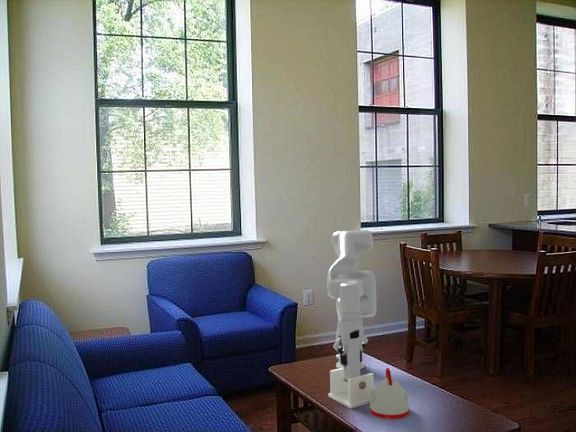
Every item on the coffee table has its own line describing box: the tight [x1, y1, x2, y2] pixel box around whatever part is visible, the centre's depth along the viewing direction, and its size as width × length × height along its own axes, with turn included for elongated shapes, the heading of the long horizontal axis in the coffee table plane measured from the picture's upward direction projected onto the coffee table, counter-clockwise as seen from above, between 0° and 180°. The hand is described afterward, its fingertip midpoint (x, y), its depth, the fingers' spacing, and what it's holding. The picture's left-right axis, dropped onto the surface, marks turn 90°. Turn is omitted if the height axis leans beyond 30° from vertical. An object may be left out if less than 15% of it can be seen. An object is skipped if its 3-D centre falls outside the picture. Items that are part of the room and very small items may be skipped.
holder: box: [327, 368, 375, 410], centre depth 214 cm, size 14×12×10 cm
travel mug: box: [343, 330, 361, 382], centre depth 213 cm, size 6×7×20 cm
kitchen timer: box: [369, 367, 410, 420], centre depth 202 cm, size 14×14×15 cm
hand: (351, 362), depth 213 cm, fingers closed on travel mug, 6 cm apart
